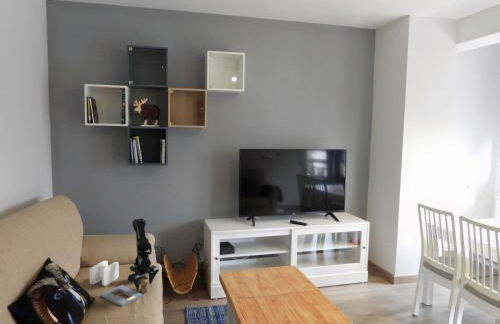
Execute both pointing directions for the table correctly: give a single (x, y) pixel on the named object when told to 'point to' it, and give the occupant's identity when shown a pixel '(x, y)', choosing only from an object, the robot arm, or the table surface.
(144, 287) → the peg
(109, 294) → the keyhole board
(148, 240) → the robot arm
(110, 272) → the cable organizer
